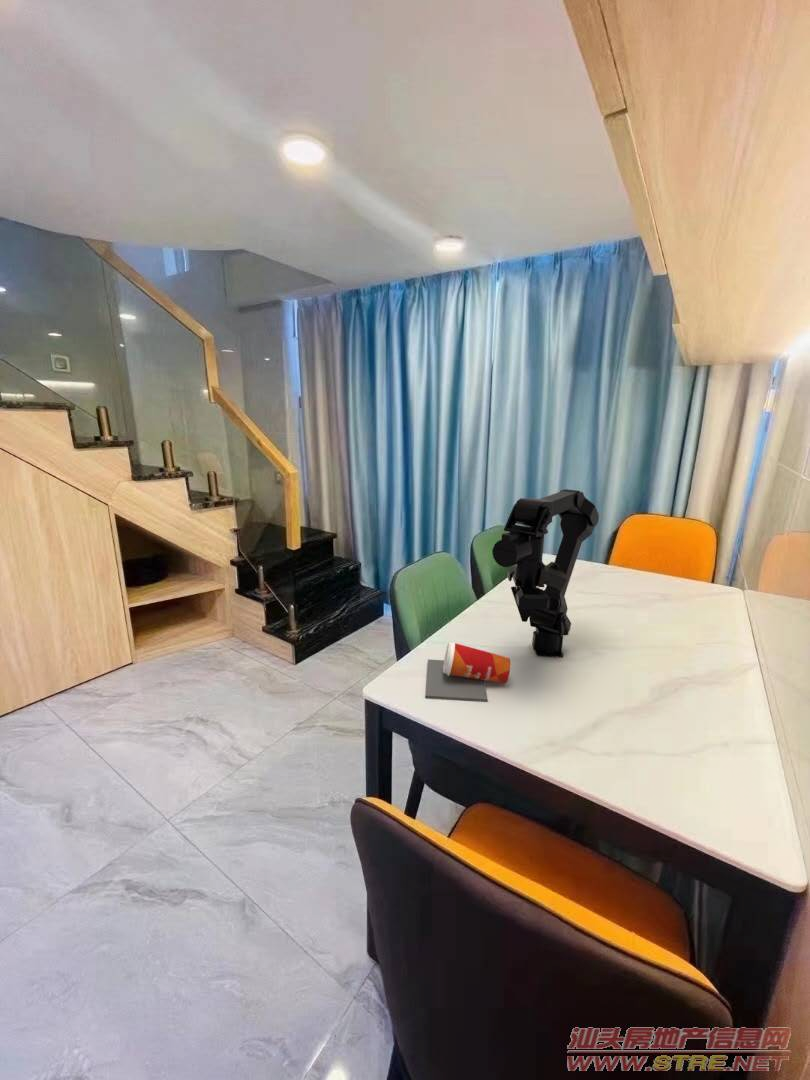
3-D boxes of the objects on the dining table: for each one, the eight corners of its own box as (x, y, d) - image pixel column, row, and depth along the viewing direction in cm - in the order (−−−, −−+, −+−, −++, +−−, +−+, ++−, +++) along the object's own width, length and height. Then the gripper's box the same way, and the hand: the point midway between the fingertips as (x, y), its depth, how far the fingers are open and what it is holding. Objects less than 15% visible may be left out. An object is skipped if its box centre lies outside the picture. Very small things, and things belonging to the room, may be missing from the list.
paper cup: (501, 690, 101) (441, 677, 101) (504, 657, 104) (446, 645, 105) (510, 684, 94) (445, 670, 95) (513, 649, 97) (450, 636, 98)
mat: (481, 664, 107) (481, 662, 107) (487, 701, 92) (487, 699, 92) (427, 661, 108) (427, 659, 108) (425, 698, 93) (425, 695, 93)
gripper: (578, 571, 87) (571, 642, 91) (556, 545, 105) (551, 605, 109) (521, 569, 88) (516, 640, 92) (509, 544, 106) (505, 604, 110)
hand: (524, 621), depth 101 cm, fingers closed
